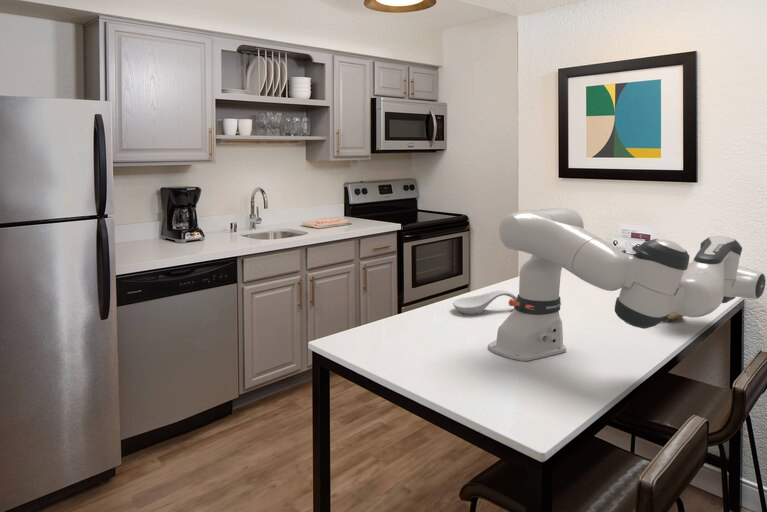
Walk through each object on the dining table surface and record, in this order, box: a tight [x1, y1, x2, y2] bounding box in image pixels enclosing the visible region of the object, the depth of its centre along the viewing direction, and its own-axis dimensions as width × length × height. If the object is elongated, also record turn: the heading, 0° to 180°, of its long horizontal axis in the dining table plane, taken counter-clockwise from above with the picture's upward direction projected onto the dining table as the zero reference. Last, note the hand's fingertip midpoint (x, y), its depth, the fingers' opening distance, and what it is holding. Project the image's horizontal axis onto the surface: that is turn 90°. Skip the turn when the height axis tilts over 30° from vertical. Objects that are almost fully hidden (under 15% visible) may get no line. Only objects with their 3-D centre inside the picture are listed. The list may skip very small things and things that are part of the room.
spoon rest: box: [452, 289, 517, 315], centre depth 191 cm, size 24×12×7 cm, turn 96°
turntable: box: [667, 312, 685, 320], centre depth 182 cm, size 12×12×2 cm
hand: (665, 267), depth 179 cm, fingers closed on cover, 5 cm apart
